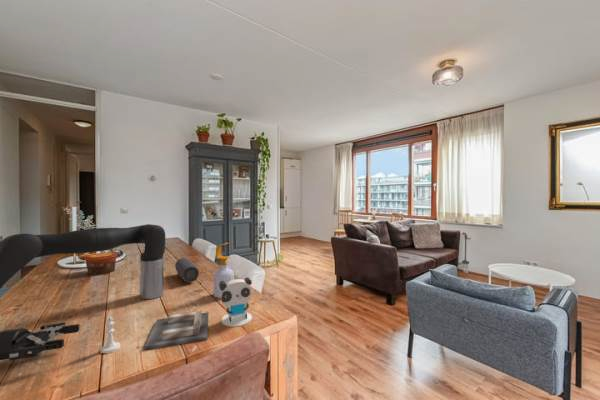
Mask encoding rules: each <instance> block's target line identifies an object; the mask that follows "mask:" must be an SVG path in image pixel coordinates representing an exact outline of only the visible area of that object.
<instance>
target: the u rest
mask: <svg viewBox="0 0 600 400" xmlns="http://www.w3.org/2000/svg"><path fill="white" fill-rule="evenodd" d="M208 328H209V312H202V310H200V311H192V312H184V313H177V314H169V315H168V317H164V318H157V319H156V321H155V323H154V325H153V327H152V329H151V331H150V334H149V336H148V338H147V341H146V343H145V345H144V350H145V351H147V350H153V349H154V350H155V349H159V348H165V347H171V346H178V345H182V344H188V343H194V342H201V341H206V340H208V332H209V331H208V330H209V329H208Z"/></svg>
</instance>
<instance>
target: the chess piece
mask: <svg viewBox="0 0 600 400" xmlns="http://www.w3.org/2000/svg"><path fill="white" fill-rule="evenodd" d="M113 320H114V318H112V316H109V317H108V318H107V319H106V322H107V321H108V322H107V323H105V325H106V328H107V330H106V332H105V333H106V334H107V342H106V343H105V344H104V345H103V346H102V347H101V348H100V351H99V352H100V353H101V354H102V353H107V354H111V353H114V352H116V351H117V349H118V350H119V349H120V348H121V343H120V342H118V341H114V336H113V332H115V328H113V327H114V324H115V321H113ZM115 350H116V351H115ZM110 352H111V353H110Z"/></svg>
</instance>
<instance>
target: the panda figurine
mask: <svg viewBox="0 0 600 400" xmlns="http://www.w3.org/2000/svg"><path fill="white" fill-rule="evenodd" d="M250 285H252V280H251V279H250V277H245V278H244V279H241V278H237V279H235V278H234V280H231V281H228V282H227V283H225V281H221V282H220V283H219V287H220V290H221V292H220V297H221V298H220V300H221V303H222V305H224V306H225V307H226V313H227V314H224V315H223V317H222V318H221V324H222V325H224V326H226V327H231V328H233V327H241V326H245V325H247V324H249V323H250V322H251V321H252V320H253V315H252V314H251V313H250V312H248V309H249V306H250V305H249V303H248V302H249V301H250V299H251V298H252V290H251V289H252V288H251V287H250Z"/></svg>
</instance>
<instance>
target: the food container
mask: <svg viewBox="0 0 600 400" xmlns="http://www.w3.org/2000/svg"><path fill="white" fill-rule="evenodd" d="M117 257H118V253H116V252H114V251H109V252H108V251H107V252H106V251H104V252H103V251H101V252H97V253H92V254H88V255H86V256H85V257H84V259H83V260H84V261H85V264H86V265H85V266H86V271H87V274H88V275H89V276H101V275H100V274H103V275H106V273H107V274H111V273H113V272H114V271H115V270H116V262H117ZM110 272H111V273H110Z"/></svg>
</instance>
